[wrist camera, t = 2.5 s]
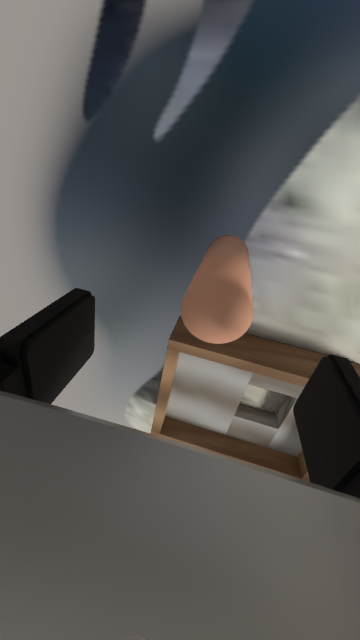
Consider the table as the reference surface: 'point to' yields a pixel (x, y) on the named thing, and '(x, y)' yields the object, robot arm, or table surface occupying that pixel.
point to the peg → (220, 293)
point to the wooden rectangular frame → (234, 398)
